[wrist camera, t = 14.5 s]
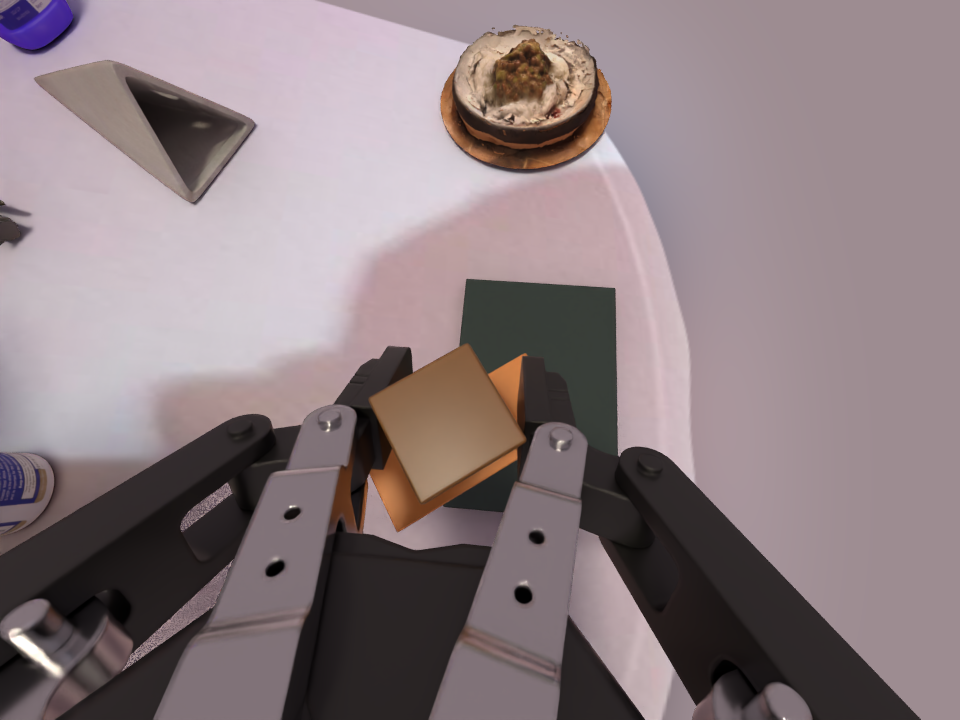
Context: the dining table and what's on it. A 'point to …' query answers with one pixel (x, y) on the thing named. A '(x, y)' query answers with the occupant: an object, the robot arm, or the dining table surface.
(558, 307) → the mat
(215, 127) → the grey triangular prism
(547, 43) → the cake on gold board
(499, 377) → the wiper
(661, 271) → the dining table surface
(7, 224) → the angel statue
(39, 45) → the bottle
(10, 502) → the pill bottle
